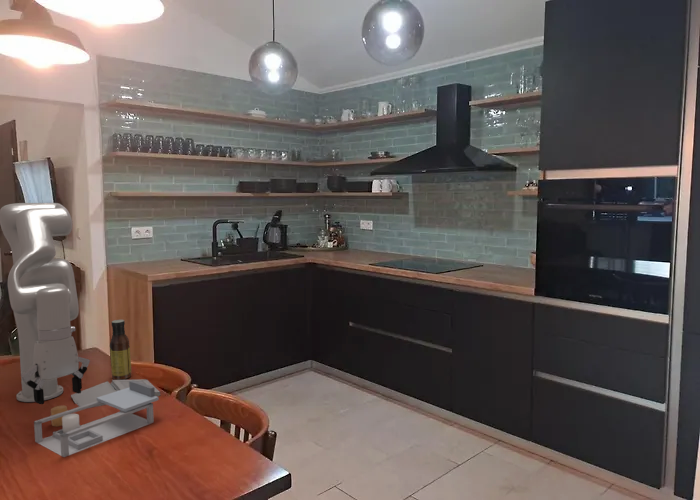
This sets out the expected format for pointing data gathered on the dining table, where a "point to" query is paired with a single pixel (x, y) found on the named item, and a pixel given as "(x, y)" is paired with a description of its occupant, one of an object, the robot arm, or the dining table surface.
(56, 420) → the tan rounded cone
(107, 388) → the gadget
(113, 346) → the sauce bottle
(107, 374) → the dining table surface
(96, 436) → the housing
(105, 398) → the lid
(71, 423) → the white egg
